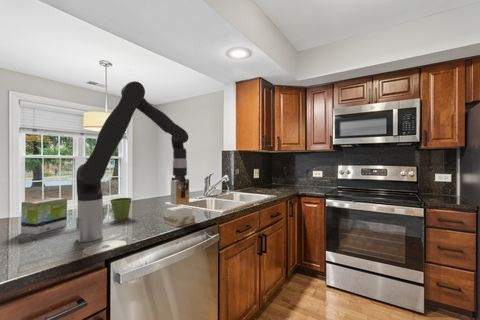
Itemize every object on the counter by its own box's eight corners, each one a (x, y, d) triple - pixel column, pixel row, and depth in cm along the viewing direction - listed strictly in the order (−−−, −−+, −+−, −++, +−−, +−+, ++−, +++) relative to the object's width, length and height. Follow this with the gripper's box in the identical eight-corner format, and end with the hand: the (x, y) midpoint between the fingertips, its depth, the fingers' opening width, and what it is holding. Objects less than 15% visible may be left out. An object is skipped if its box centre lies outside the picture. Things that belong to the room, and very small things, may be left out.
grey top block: (177, 219, 124) (177, 211, 124) (166, 216, 130) (166, 208, 130) (192, 215, 132) (192, 208, 132) (181, 212, 138) (181, 205, 138)
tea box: (37, 235, 108) (37, 202, 108) (20, 233, 110) (20, 202, 110) (67, 226, 123) (67, 197, 123) (51, 224, 125) (51, 196, 125)
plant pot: (112, 217, 142) (112, 198, 142) (133, 215, 146) (133, 197, 146) (107, 222, 131) (107, 201, 131) (130, 220, 134) (130, 200, 134)
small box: (176, 205, 126) (176, 181, 126) (170, 203, 130) (170, 180, 130) (189, 203, 131) (189, 180, 131) (183, 202, 136) (183, 179, 136)
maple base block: (175, 227, 122) (175, 219, 122) (163, 223, 131) (163, 215, 131) (194, 223, 131) (194, 215, 131) (182, 219, 139) (182, 212, 139)
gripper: (167, 166, 133) (167, 196, 133) (180, 167, 123) (180, 199, 123) (178, 166, 138) (178, 195, 138) (193, 167, 128) (193, 197, 128)
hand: (179, 197), depth 131 cm, fingers closed on small box, 6 cm apart
